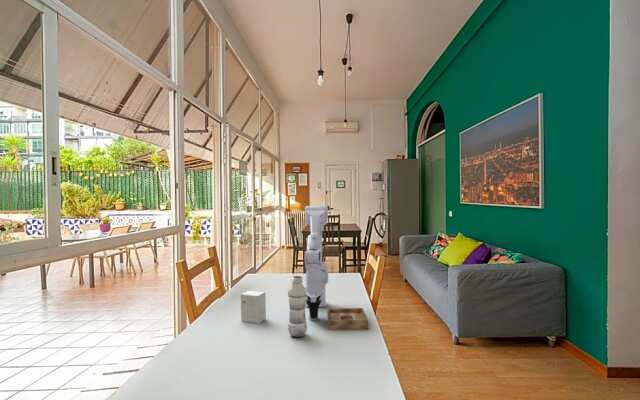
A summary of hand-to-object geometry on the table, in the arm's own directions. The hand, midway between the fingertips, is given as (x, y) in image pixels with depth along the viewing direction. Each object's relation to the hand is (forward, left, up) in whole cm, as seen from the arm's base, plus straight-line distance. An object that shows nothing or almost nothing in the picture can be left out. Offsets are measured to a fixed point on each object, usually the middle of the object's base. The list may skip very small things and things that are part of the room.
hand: (313, 315), depth 134 cm
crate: (+12, -4, -2) cm, 13 cm away
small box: (-24, 0, -2) cm, 24 cm away
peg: (0, 0, -2) cm, 2 cm away
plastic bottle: (-6, -16, -2) cm, 17 cm away
